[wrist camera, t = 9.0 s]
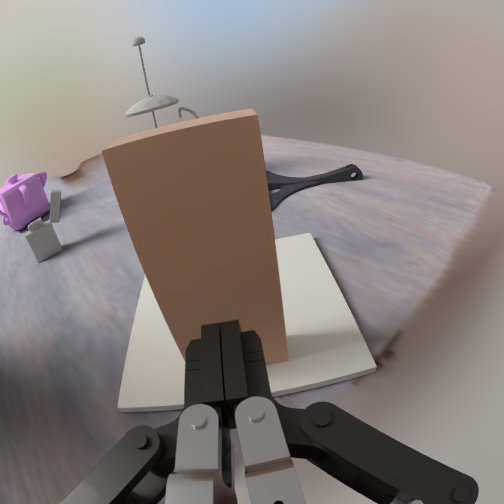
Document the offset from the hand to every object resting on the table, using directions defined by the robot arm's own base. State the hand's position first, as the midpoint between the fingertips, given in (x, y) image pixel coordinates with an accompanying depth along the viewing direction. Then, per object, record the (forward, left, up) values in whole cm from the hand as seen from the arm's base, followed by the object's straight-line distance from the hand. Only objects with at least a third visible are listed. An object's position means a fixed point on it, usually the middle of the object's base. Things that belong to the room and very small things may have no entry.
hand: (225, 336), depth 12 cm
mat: (+3, +8, -7) cm, 11 cm away
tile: (+1, +4, -6) cm, 7 cm away
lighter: (-14, +33, -7) cm, 36 cm away
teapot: (-24, +56, -7) cm, 61 cm away
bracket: (+21, +25, -8) cm, 33 cm away
